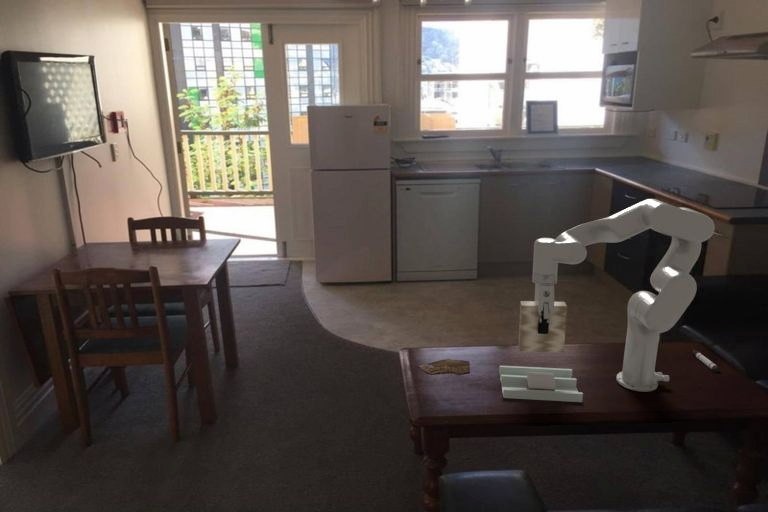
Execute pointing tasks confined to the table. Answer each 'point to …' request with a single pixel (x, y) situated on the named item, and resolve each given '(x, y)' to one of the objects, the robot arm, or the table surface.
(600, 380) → the table surface
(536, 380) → the grey offcut
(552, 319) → the birch sheet
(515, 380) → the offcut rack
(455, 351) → the table surface
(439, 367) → the brown ridged slab
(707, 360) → the marker
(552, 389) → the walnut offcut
